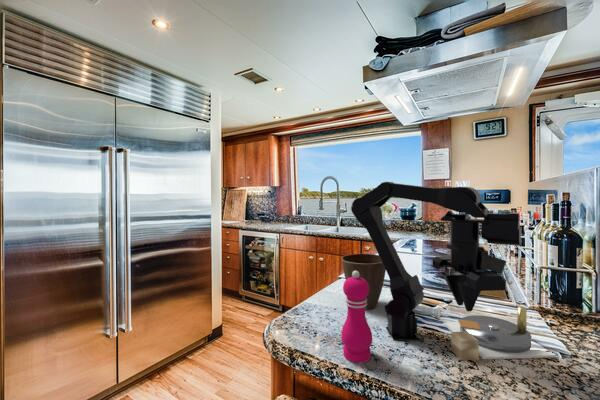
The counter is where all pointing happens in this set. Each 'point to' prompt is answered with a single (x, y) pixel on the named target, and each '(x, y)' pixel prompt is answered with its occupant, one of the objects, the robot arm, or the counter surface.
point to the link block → (465, 345)
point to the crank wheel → (499, 331)
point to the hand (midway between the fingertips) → (464, 307)
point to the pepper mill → (356, 320)
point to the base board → (495, 354)
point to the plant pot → (366, 274)
